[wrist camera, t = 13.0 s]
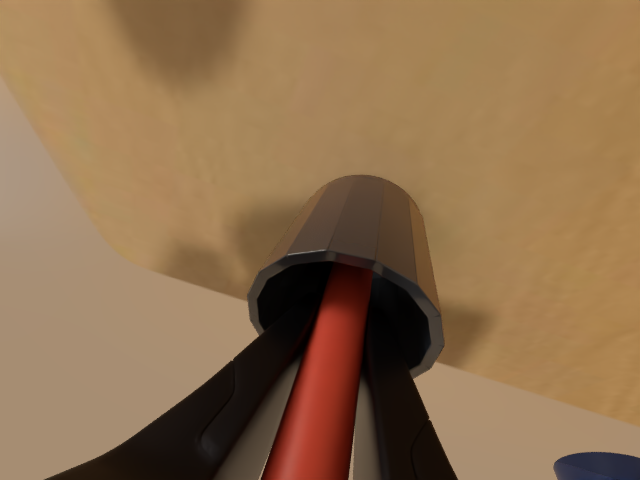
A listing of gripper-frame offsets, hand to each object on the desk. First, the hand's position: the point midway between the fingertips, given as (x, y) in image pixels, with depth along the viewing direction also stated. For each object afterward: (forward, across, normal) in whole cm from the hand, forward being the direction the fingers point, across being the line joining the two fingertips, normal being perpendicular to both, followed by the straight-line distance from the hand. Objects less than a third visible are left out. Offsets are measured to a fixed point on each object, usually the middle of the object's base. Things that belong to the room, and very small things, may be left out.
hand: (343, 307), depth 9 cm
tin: (+5, 0, 0) cm, 5 cm away
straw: (+2, 0, 0) cm, 3 cm away
